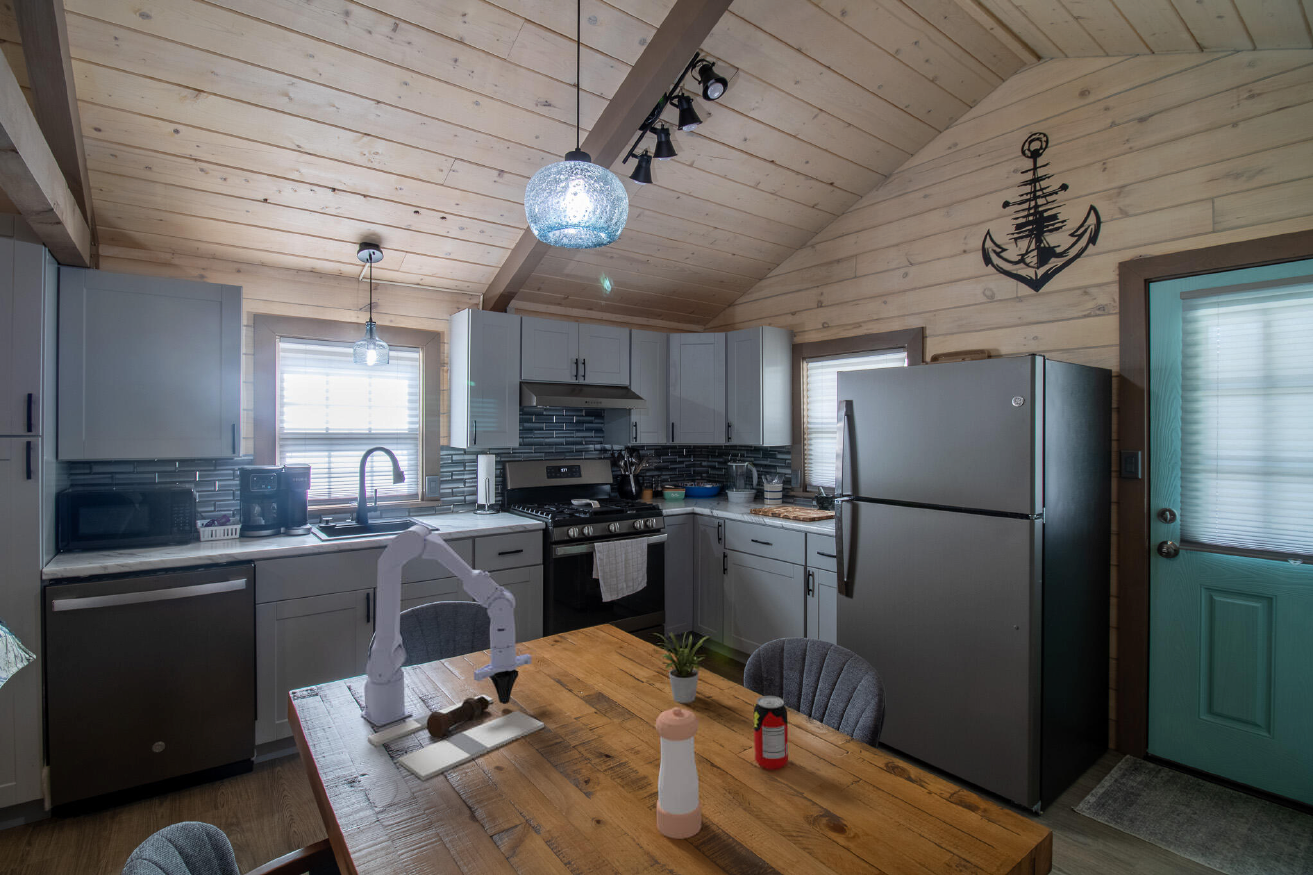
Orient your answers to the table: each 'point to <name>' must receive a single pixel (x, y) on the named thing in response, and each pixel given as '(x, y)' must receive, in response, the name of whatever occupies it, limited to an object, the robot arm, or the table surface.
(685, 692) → the house plant
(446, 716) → the bolt
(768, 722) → the beverage can
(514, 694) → the table surface
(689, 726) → the pepper shaker
